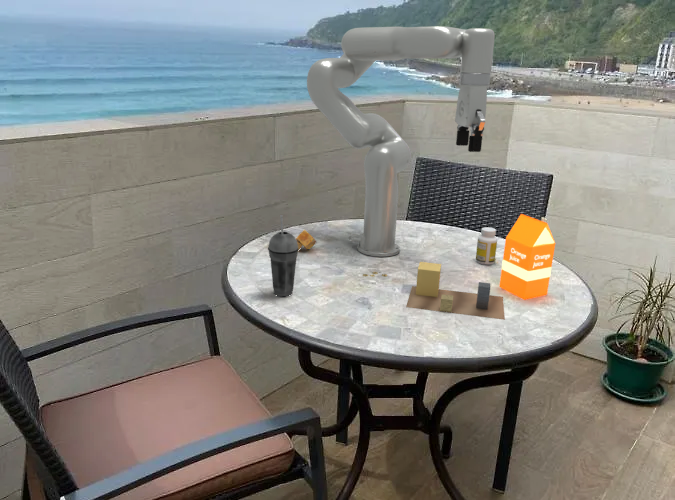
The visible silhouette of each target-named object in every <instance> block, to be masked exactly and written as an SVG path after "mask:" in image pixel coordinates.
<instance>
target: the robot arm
mask: <svg viewBox="0 0 675 500" xmlns="http://www.w3.org/2000/svg"><path fill="white" fill-rule="evenodd" d="M494 46H495V32H494V30H493V29H491V28H484V27H483V28H478V27H477V28H476V27H473V28H468V29H464V28H458V27H452V26H445V25H444V26H443V25H442V26H441V25H439V26H437V25H436V26H434V25H433V26H407V27H404V26H400V25H399V26H383V27H382V26H377V27H375V26H371V27H369V26H368V27H354V28H351V29H349V30H347V31H346V32H344V34H343V36H342V38H341V43H340V47H341V50H342V52H343V54H342V55H341V56H340V57H328V58H327V57H326V58H321V59H318V60H317V61H315V62H313V64H311V66H310V68H309V70H308V72H307V77H306V87H307V92H308V94H309V97H310V100H311V101H312V102H313V104H314V105H315V107H316V108H317V109H318V111H319V112H320V113H322V114H323V115H324V117H326V119H327V120H328V121H329V122H330V124H331V125H332V126H333V128H334V129H336V130H337V132H338V133H339V134H340V135H341V136H342V138H343V139H344V140H345V142H346V143H348V144H349V146H350V147H352V148H354V149H357V150H362V149H366V148H368V149H369V150H368V151H367V153H366V154H365V156H364V161H363V170H364V179H365V181H364V182H365V188H364V190H365V193H364V212H363V213H364V214H363V215H364V216H363V230H362V231H363V232H362V233H359V234H356V233H349V235H348V240H350V242H352V243H353V242H354V243H358V244H357V250H358V252H359V253H362V254H363V255H366V256H371V257H378V258H380V257H381V258H384V257H385V258H386V257H392V256H396V255H398V254H399V253H400V252H401V248H400V246H399V244H397V243H396V234H397V232H396V231H397V219H398V216H397V215H398V205H399V204H398V201H399V182H398V174H399V173H401V172H403V171H405V170H406V169H407V168H408V167H409V166H410V164H411V162H412V158H413V157H412V151H411V148H410V147H409V145H408V144H407V142H406V141H405V140H404V139H403V138H402V136H400V134H399V133H398V132H397V131H396V130H395V129H394V127H393V126H392V125H391V124H390V123H389V122H388V121H387V120H386V118H384V117H383V116H381V115H379V114H378V113H372V112H368V113H364V112H362V111H361V110H360V109H359V108H358V107H357V106H356V105H355V104H354V102H353V101H352V99H350V97H348V96H347V95H345V94H344V93H343V92H341V90H340V89H344V88H348V87H351V86H352V85H354V84H355V83H356V82H357V81H358V80H359V79H360V78H361V77H362V76H363V74H364V73H365V72H366V71H368V69H370V68H371V66H373V64H374V63H375V62H376V61H385V62H387V61H388V62H389V61H394V62H395V61H396V62H397V61H402V60H407V59H409V60H410V59H411V60H412V59H413V60H414V59H416V60H417V59H422V60H423V59H424V60H425V59H428V60H430V59H431V60H433V59H437V60H438V59H439V60H440V59H441V60H442V59H448V60H450V59H458V58H459V59H461V61H460V71H459V83H458V85H459V91H458V95H457V103H456V108H455V110H456V111H455V118H454V119H455V120H454V121H455V123H456V124H457V127H456V129H457V131H456V139H455V141H456V142H455V145H456V146H457V147H458V146H459V147H460V146H461V147H462V146H463V147H465V146H466V147H467V146H468V149H467V151H468V152H469V153H480V152H481V151H482V145H483V136H484V130H485V124H486V114H487V98H488V96H487V95H488V94H487V93H488V88H490V84H491V73H492V64H493V57H494Z"/></svg>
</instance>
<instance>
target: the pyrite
mask: <svg viewBox="0 0 675 500" xmlns="http://www.w3.org/2000/svg"><path fill="white" fill-rule="evenodd" d="M295 238H296V240H297V244H298V248H299V249H300V248H301V249H302V247H304V248H305V249H306V250H307V249H310V248H311V249H312V248H313V247H314V246H315V245H316V243H317V240H316V239H315V238H314V236H312V235H311V233H309V232H308V231H307V230H306V229H303V230H302V231H301V232H300V233H299V235H297V237H295ZM301 249H300V250H301ZM311 249H310V250H311Z"/></svg>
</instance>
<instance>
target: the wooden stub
mask: <svg viewBox="0 0 675 500" xmlns="http://www.w3.org/2000/svg"><path fill="white" fill-rule="evenodd" d="M452 303H453V296H451V295H442V296H441V305H440V311H444V312H443V313H448V312H452ZM440 311H439V312H440Z"/></svg>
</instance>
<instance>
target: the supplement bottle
mask: <svg viewBox="0 0 675 500" xmlns="http://www.w3.org/2000/svg"><path fill="white" fill-rule="evenodd" d="M496 234H497V229H496V228H493V227H487V226H485V227H482V228H481V232H480V235H478V237H477V244H476V253H475V254H476V255H475V262H476V263H478V264H481V265H487V266H489V265H493V264H494V263H495V262H496V254H497V245H498V238H497V237H496Z"/></svg>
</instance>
